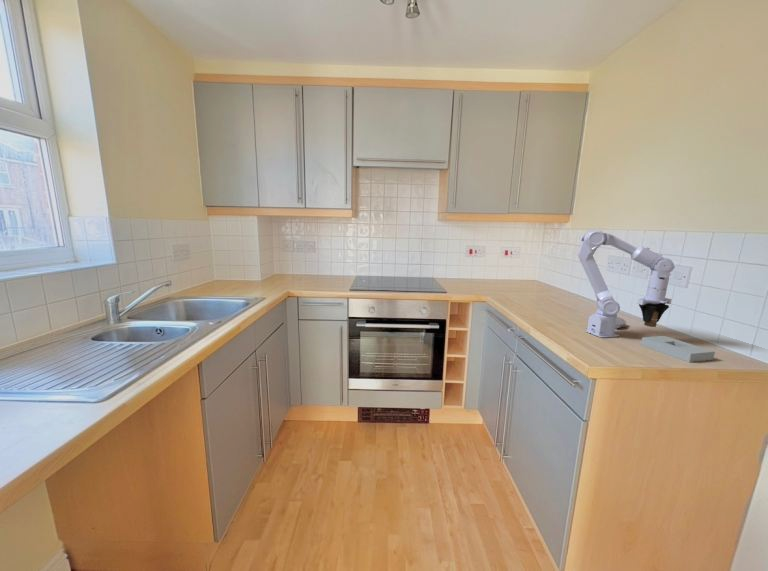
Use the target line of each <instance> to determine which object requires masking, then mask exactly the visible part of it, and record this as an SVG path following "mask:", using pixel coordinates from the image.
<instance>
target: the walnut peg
mask: <svg viewBox="0 0 768 571" xmlns="http://www.w3.org/2000/svg"><path fill="white" fill-rule="evenodd" d="M657 318H658V311H654V313H653V315H652V318H651V321H650V323H648V322H644V326H646V327H649V328H650V327H651V328H656V327H657V323H658V322H657Z"/></svg>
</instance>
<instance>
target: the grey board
mask: <svg viewBox="0 0 768 571" xmlns="http://www.w3.org/2000/svg"><path fill="white" fill-rule="evenodd" d="M640 345H641V346H643V347H646V348H648V349H651V350H654V351H655V352H656V351H657V352H658V353H659V352H660V353H662V354H665V355H668V356H670V357H674V358H676V359H679V360H682V361H684V362H687V363H694V361H697V362H705V361H706V360H707V361H713V360H714V358H715V354H716V351H715V350H714V351H713V350H711V349H709V348H704V347H702V346H698V345H695V344H693V343H688V342H685V341H682V340H679V339H677V338H672V337H669V336H666V335H657V336H644V337H641V342H640Z"/></svg>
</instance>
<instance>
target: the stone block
mask: <svg viewBox="0 0 768 571" xmlns="http://www.w3.org/2000/svg"><path fill="white" fill-rule="evenodd" d="M626 326H627V321H626V320H625V319H624V318H622V317H620V316H619V317H618V316H617V319H616V325H615V330H618V328H619V329H623V328H626ZM622 327H623V328H622Z"/></svg>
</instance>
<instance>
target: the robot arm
mask: <svg viewBox="0 0 768 571" xmlns="http://www.w3.org/2000/svg"><path fill="white" fill-rule="evenodd" d="M602 245H603V246H611V247H614V248H616V249H618V250H620V251H622V252H624V253H626V254H628V255H630V259H631V260H632V261H635V262H637V263H638V264H641V265H642V266H645V267H647V268H649V269H650V275H649V277H648V278H649V279H648V284H647V289H646V295H645V297H643V298H638V299H637V303H636V304H637V305H638V306H639V308H640V310H641V315H642V322H644V323H645V322H648V323H650V321H651V318H652V315H653V313H654V311H658V318H657V323H658V322H659V321H660V319H661V318H662V316H663V314H665V311H667V310H668V309H669V308H670V305H671V303H672V299H671V298H668V297H666V295H667V290H668V286H669V280H670V274H671V272H673V271H674V270H675V268H676V267H675V263H674V262H673V260H672V259H670V258H669V257H668V258H667V257H663V254H661V253H656V252H655V251H652V250H651V248H650V247H648V246H639V247H638V246H637V247H636V246H634V245H633V244H630V243H628V242H626V241H624V240H622V239H621V238H619V237H616V236H615V235H613V234H610V233H606V232H603V231H602V230H599V229H597V230H596V229H595V230H594V229H593V230H589V231H586V232H585V233H584V234H583V236H582V237H581V239H580V244H579V248H578V252H577V257H578V259H579V261H580V263H581V266H582V268H583V270H584V272H585V274H586V276H587V279H588V280H589V283H590V285H591V287H592V289H593V291H594V294H595V299H596V307H597V309H596V311H595V313H593V314H591V315H590V316H589V317H588V320H587V328H586V329H585V330H584V332H586V333H588V334H590V333H591V334H590V335H593V336H596V337H598V338H615V337H620V335H619V334H617V333H615V330H616V329H615V325H616V319H617V317H618V313H619V311H620V310H621V307H620V304H619V302H618V301H617V300H615V299H614V297H613V295H612V293H611V292H610V290H609V289H608V286H607V284H606V282H605V279H604V277H603V275H602V273H601V271H600V269H599V267H598V266H599V265H598V264H597V263H596V259H595V258H594V254H595V253H596V251H597V250H598V249H599V247H601V246H602Z"/></svg>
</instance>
